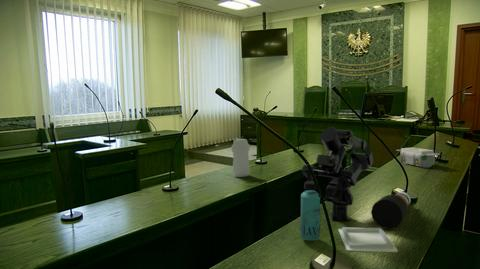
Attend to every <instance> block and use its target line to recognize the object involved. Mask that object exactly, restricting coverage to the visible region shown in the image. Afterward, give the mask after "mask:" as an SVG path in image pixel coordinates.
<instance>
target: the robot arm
mask: <svg viewBox="0 0 480 269" xmlns="http://www.w3.org/2000/svg"><path fill="white" fill-rule="evenodd" d="M354 135H355V133H354V132H353V131H352V130H351V129H336V127H335V126H334V127H333V126H329V127H328V129H325V130H324V131H323V132H321V133H320V136H319V137H320V139H321V142H322V144H323V146H324V147H325V149H326V150H327V154H326V155H325V154H317V157H316V163H315V164H317V165H319V166H318V168H319V169H320V170H319V169H316V167H315V166H314V165H311V164H309V165H310V166H311V168H312V170H313V172H314V174H315V176H316V179H317V178H318V176H320V177H324V178H325V177H326V178H331V180H330V182H328V185H327V186H326V187H325V190H324V191H325V197H326V202H328V203H331V212H329V216H330V218H331V220H332V221H345V222H346V221H351V220H350V217H349V216H348V207H349V206H352V205H353V202H354V196H353V194H352V192H351V189H350V188H352V187H355V186H356V184H357V179H358V176H359V175H360V174H361V173H362V172H363V171H367V170H368V169H370V168H371V167H372V166H373V163H374V157H373V151H372V150H371V148H369V146H368V145H367V142H366V140H364V139H362V138H359V137H357V136H354ZM346 146H347V147H350V148H351V149H352V150H351V151H350V154H349V157H350V162H351V164H350V165H349V166H348V167H347V169H342V167H343V165H342V162H343V159H344V158H345V156H347V151H346V150H347V149H346ZM355 150H362V151H363V153H361V152H355ZM307 165H308V164H304V165H303V166H302V168H301V172H302V173H303V175H304V176H305V178H307V181H314V180H313V177H312V175H311V173H310V171H309V169H308V166H307ZM340 169H341V171H340ZM339 171H340V172H339Z"/></svg>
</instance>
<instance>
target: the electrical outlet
mask: <svg viewBox="0 0 480 269" xmlns="http://www.w3.org/2000/svg"><path fill="white" fill-rule="evenodd" d="M395 151H397V152H400V163H402V164H405V165H407V164H408V165H411V166H412V165H413V166H417V167H420V168H432V166H434V165H435V157H436V155H437V156H440V155H441V153H435V151H434V149H425V148H420V147H419V148H417V147H404V148H403V147H402V148H401V149H396V150H395Z"/></svg>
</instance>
